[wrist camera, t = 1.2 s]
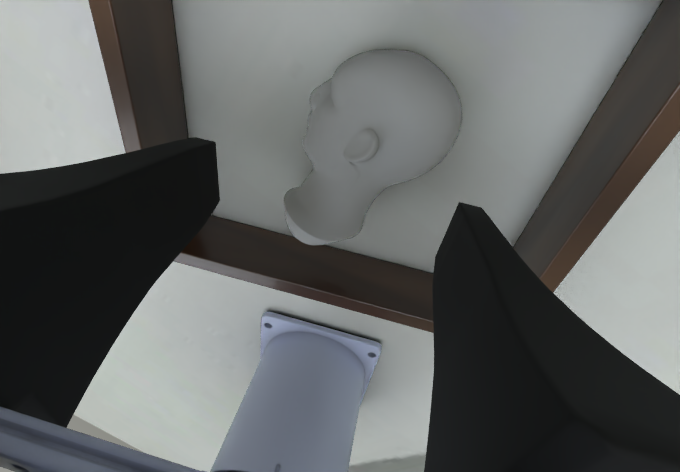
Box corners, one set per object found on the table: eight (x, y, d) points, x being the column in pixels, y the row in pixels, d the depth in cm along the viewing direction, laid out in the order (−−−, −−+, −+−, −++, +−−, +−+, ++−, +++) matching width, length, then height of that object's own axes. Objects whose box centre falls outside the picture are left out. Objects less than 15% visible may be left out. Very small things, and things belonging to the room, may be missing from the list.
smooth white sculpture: (397, 12, 13) (492, 113, 13) (285, 160, 18) (355, 237, 18) (349, -12, 10) (479, 128, 9) (224, 182, 14) (311, 278, 14)
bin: (497, 302, 19) (505, 353, 16) (185, 219, 20) (150, 255, 18) (725, -48, 10) (824, -52, 7) (129, -156, 11) (40, -191, 9)
